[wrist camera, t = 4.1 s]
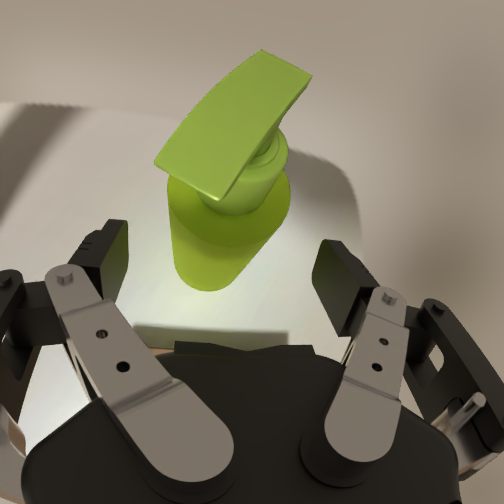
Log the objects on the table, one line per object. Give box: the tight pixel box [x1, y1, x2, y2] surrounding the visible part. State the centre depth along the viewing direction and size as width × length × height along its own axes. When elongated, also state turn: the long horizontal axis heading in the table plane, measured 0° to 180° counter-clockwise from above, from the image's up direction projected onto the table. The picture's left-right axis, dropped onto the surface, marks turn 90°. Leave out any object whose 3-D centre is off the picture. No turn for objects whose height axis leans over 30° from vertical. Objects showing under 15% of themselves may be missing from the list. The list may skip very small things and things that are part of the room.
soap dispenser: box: [154, 49, 312, 291], centre depth 17 cm, size 6×7×20 cm
